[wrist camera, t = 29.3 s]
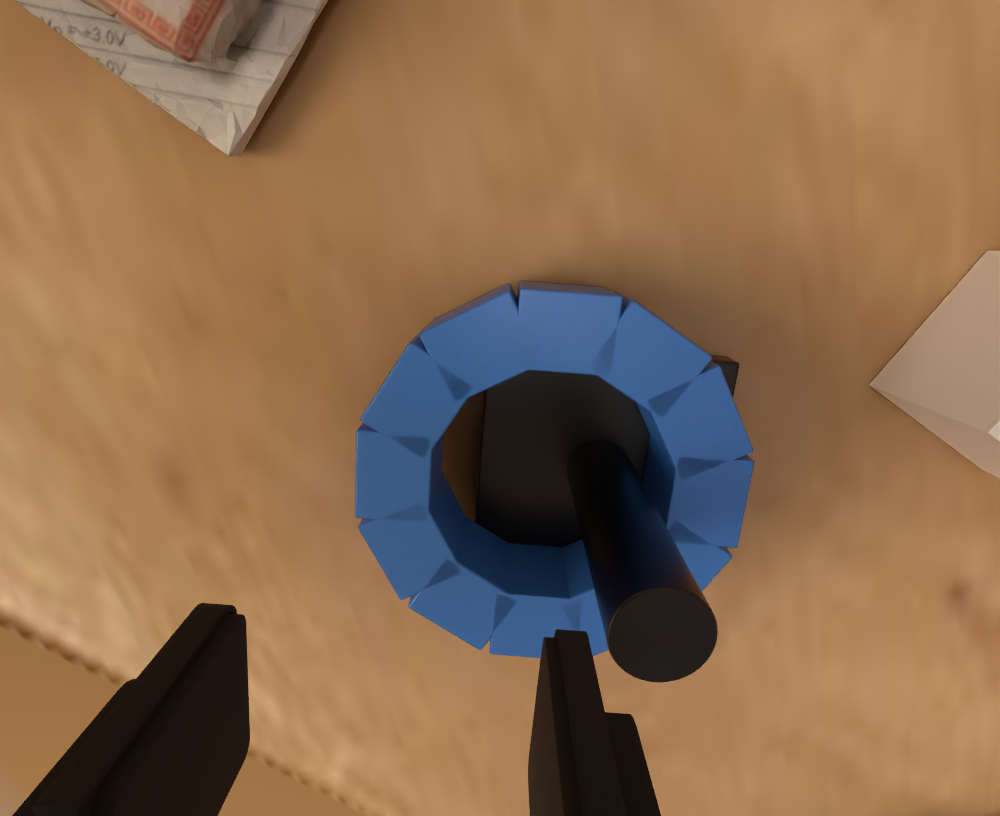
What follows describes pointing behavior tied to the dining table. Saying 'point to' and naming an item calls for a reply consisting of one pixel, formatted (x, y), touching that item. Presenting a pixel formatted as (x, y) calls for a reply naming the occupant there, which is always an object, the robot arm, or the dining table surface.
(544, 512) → the peg stand
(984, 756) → the dining table surface
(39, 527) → the dining table surface
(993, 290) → the white cube
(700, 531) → the tape
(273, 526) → the dining table surface
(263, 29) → the packaged product
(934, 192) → the dining table surface
